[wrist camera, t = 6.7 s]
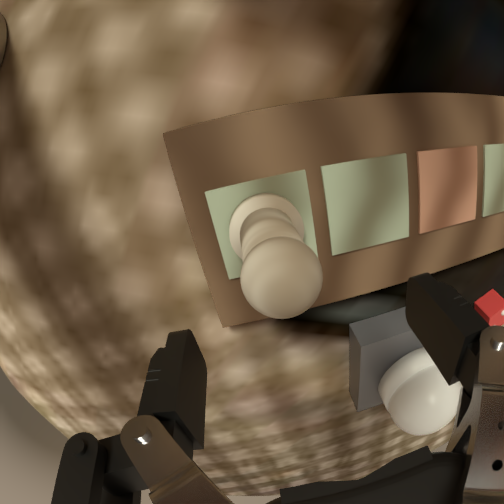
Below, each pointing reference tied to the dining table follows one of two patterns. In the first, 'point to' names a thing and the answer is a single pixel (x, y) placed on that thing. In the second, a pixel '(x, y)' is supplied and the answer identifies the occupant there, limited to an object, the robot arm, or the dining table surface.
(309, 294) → the pawn
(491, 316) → the red die
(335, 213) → the game board
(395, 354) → the dome housing
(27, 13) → the dining table surface
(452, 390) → the dome
